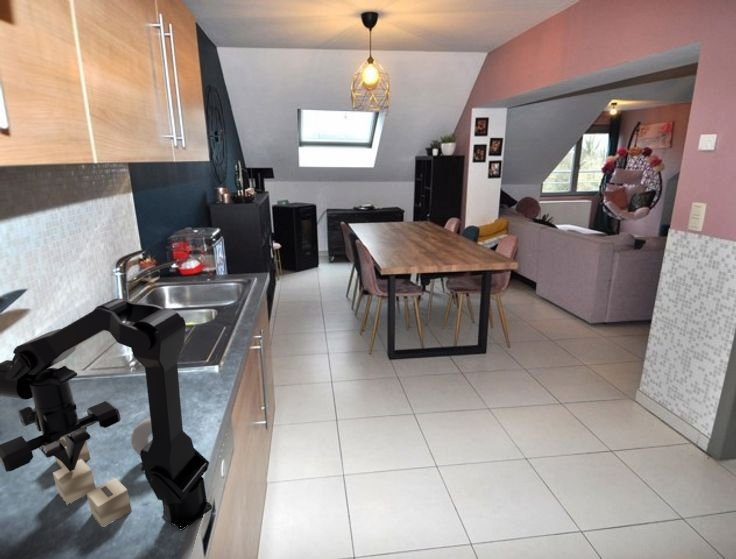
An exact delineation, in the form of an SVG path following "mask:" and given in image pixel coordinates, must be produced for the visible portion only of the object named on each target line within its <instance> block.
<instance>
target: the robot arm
mask: <svg viewBox="0 0 736 559" xmlns="http://www.w3.org/2000/svg"><path fill="white" fill-rule="evenodd" d="M125 321H127V322H128V323H129V322H130V323H133V324H132V325H130V324H128V323H125ZM186 328H187V326H186V321H185V319H184V317H183V316H181V315H180V314H179V313H178V312H177V311H175V310H174V309H172V308H169V307H166V308H165V307H162V306H159V305H157V304H152V303H151V304H150V303H141V302H133V301H131V300H128V299H124V298H114V299H113V298H112V299H111V300H108V301H107V302H104V303H102V304H100V305H98V306H96V307H95V308H94V309H93V310H92V311H90V312H88V313H87V314H85V315H83V316H82V317H80V318H78V319H77V320H74V321H73V322H71V323H69V324H68V325H66V326H64V327H62V328H58V329H55V330H52V331H49V332H46V333H44V334H41V335H40V336H37V337H34V338H32V339H30V340H28V341H26V342H24V343H21V344H19V345H17V346H15V347H14V349H13V351H12V352H13V354H14V356H13V358H12V360H10V359H5V360H4V361H2V362H0V397H3V398H12V399H18V400H30V399H32V400H33V403H34V408H32V406H26V407H23V408H21V409H19V410H17V412H18V417H19V420H20V423H21V425H22V426H24V427H27V426H29V425H32V424H34V425H35V426H36V430H37V431H38V432H41V435H39V436H36V437H33V438H32V439H30V440H25V438H24V437H23V436H22V435H20V436H18V437H15V438H13V439H10V440H8V441H6V442H3V443H0V464H1V466H2V467H3V469H4V471H5V472H12V471H15V470H17V469H19V468H22V467H23V466H25V465H28V464H29V463H31V461H32V459H33V458H34V454H33V451H35V450H38V449H39V450H40V452H42V454H43V455H44V456H45V458H46V459H49V458H52V457H54V458H55V457H56V458H57V459H59V460H60V461H61V462H62V463H63V464H64V465H65V466H66V468H67V469H68V470H69V471H70V472H71V471H72V470H74V469H75V467H76V464H77V461H78V458H79V455H80V452H81V450H82V448H83V446H84V444H85V442H86V441H88V440H90V439H91V434H90V433H89V432H88V431H87V430H88V428H89V427H90V426H92V425H95V424H97V423H98V426H99V427H101V428H104V429H107V428H109V427H111V426H113V425H115V424H118V423H119V422H120V421H121V420H122V419H121V414H120V411H119V409H118V408H117V407H115V405H114V404H112V403H111V402H109V401H106V400H104V401H102V402H100V403H97V404H95V405H93V406H90V407H88V408H87V410H86V412H87V413H86V414H87V415H85V416H84V417H81V418H79V417H78V413H77V409H78V408H77V404H76V403H75V400H74V396H73V391H72V388H71V382H70V381H71V380H72V379H73V378H76V377H77V376H78V372H76V371H75V370H74V369H70V368H69V367H67V366H66V365H63V366H61V367H60V368H58V367H53V366H55V365H57V364H58V363H60V362H62V361H65V360H66V359H67V358H69V357H70V355H72V354H73V353H74V352H75V351H76V349H77V347H78V346H79V345H80V344H83V343H84V342H86V341H87V340H89V339H91V338H93V337H95V336H97V335H99V334H100V333H102V332H104V331H105V332H109V333H110V335H111V336H112V338H113V339H114V340H115V341H116V342H117V344H120V345H122V346H125V347H128V348H129V349H131V351H132V355H133V357H134V359H136V361H138V363H140V364H141V365H142V366H143V367H144V372H145V382H146V391H147V398H148V399H147V400H148V410H149V418H150V419H151V428H152V434H151V436H152V439H151V440H150V442H149V443H148V444H147V445H146V446H145V447H144V448H143V449H142V450H141V453H140V455H139V457H140V460H141V468H140V470H141V472H143V471H144V476H145V478H146V480H147V482H148V484H149V487H150V488H151V489H152V491H153V493H154V494H155V497H156V498H157V500H159V501H161V502H162V510H163V511H162V513H163V515H164V518H165V519H166V520H167V522H169V523H170V524H171V525H174V524H175V525H176V526H177V527H178V528H179V529H183V528H184V527H186V526H187V525H188V526H190V525H192V523H194V522H195V521H197V520H199V518H201V517H202V516H204V515H205V514H207V513H208V512H209V511H211V510H212V509H213V505H212V504H211V503H210V502H209V501H208V499H207V493H206V485H205V479H204V477H203V475H204V474H205V473H206V472H207V471H208V469H209V465H210V462H209V460H207V458H205V457H204V456H203V455H202V454H201V453H200V451H198V450H197V449H196V448H195V447H194V443H193V439H192V437H191V436H190V435H188V433H186V432H185V431H184V429H183V416H182V405H181V404H182V403H181V393H180V382H179V369H178V359H179V357H180V354H181V352H182V350H183V347H184V344H185V339H186V337H185V336H186V330H187V329H186ZM63 437H65V440H66V446H67V452H66V449H65V447H64V446H63V445H62V444H61V443H60V439H61V438H63ZM175 525H174V526H175ZM176 526H175V527H176ZM180 526H182V527H180ZM188 526H187V527H188ZM177 527H176V528H177ZM187 527H186V528H187ZM178 528H177V529H178ZM179 529H178V530H179ZM184 529H185V528H184ZM184 529H183V530H184Z"/></svg>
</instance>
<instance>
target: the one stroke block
mask: <svg viewBox="0 0 736 559" xmlns="http://www.w3.org/2000/svg"><path fill="white" fill-rule="evenodd" d="M86 496H87V501H88V504H89V509H90V512H91V513H92V514H93V516H94V517H95V518H96V519H97V521H98V522H99V523H100V524H101V525H100V524H99V523H98V522H97V521H96V522H97V523H98V524H99V525H100V526H102V527H103V526H105V525H107V524H109V523H111V522H112V521H114V520H116V519H118V518H119V519H121V518H123V517H124V516H125V514H126V515H127V514H129V513H130V511H131V512H132V510H133V509H132V506H131V501H130V496H129V491H128V488H126V487H125V486H124V485H123V484H122V482H120V481H119V479H117V477H113V478H112V479H110V480H109V481H107V482H105V483H103V484H101V485H100V486H97V487H96V488H95V489H94V490H92V491H90V492H88V493H87V495H86ZM128 512H129V513H128ZM92 514H91V515H92ZM123 515H124V516H123ZM93 516H92V517H93ZM122 516H123V517H122ZM94 517H93V518H94ZM120 517H121V518H120ZM95 518H94V519H95ZM96 519H95V520H96ZM119 519H118V520H119ZM116 521H117V520H116ZM111 524H112V523H111ZM102 527H101V528H102Z"/></svg>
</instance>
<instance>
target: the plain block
mask: <svg viewBox="0 0 736 559" xmlns="http://www.w3.org/2000/svg"><path fill="white" fill-rule="evenodd" d="M52 475H53V479H54V482H55V487H56V491H57V494H58V493H59V494H60V495H59V494H58V495H59V496H60V498H61V497H62V498H63V499H62V498H61V499H62V500H63V501H65V502H66V503H65V502H64V503H65V505H66V506H69V505H68V504H69V503H71V502H73V501H75V500H77V499H79V498H81V497H82V498H84V497H85V496H84V495H86V496H87V493H88V492H90V491H92V490H94V489H95V488H97V487H96V485H95V480H94V475H93V472H92V468H91V467H89V465H88V464H87V463H86V461H83V460H82V459H80V460H78V461H77V464H76V467H75V469H74V470H72V471H71V472H70V471H69V470H68V469H67V468H66V467H64V468H60V469H58V470H56V471H54V472H52ZM83 496H84V497H83ZM82 498H81V499H82ZM79 500H80V499H79ZM77 501H78V500H77ZM75 502H76V501H75ZM73 503H74V502H73ZM71 504H72V503H71Z"/></svg>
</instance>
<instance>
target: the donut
mask: <svg viewBox="0 0 736 559" xmlns="http://www.w3.org/2000/svg"><path fill="white" fill-rule="evenodd" d="M150 435H152V428H151V419H150V417H149V418H145V419H144V420H142V421H141V422H139V423H138V424H137V425H136V426H135V427H134V429H133V431H132V434H131V436H130V437H131V440H130V444H131V446H132V449H133V450H134V451H135V452H136V453H137V455H139V456H140V453H141V450H142V449H143V448H144V447H145V446H146V445H147V444H148V443H149V442H150V441H151V440H150V437H149V436H150Z"/></svg>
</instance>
